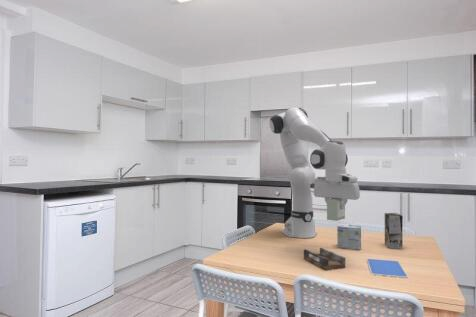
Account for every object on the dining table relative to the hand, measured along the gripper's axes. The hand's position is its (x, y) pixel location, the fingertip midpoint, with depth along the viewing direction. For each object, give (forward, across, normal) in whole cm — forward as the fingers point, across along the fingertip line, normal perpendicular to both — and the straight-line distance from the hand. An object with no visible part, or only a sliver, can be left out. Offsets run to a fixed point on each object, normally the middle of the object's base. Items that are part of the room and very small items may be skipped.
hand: (335, 208), depth 142 cm
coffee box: (+22, +12, +37) cm, 45 cm away
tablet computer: (+22, +21, -1) cm, 31 cm away
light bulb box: (+22, -3, +20) cm, 30 cm away
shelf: (+21, 0, -11) cm, 24 cm away
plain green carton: (+5, 0, 0) cm, 5 cm away
